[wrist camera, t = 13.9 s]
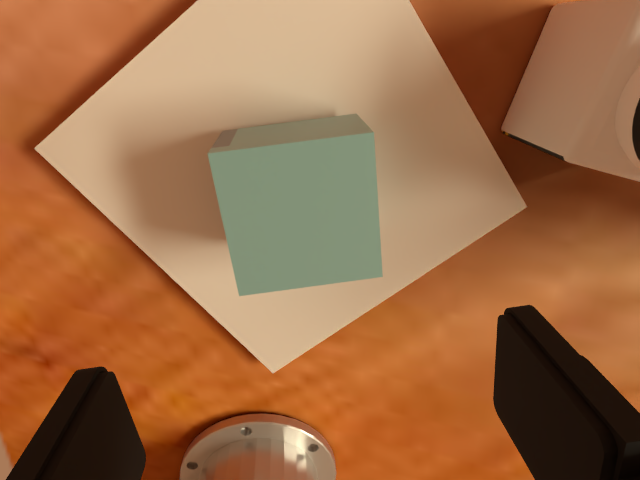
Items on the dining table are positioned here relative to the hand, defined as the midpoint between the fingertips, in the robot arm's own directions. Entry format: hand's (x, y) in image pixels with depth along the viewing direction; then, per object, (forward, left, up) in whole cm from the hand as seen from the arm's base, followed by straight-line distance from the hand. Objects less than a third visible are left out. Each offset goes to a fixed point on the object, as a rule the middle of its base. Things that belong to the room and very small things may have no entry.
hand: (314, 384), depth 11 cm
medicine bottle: (+16, -6, -18) cm, 25 cm away
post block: (0, 0, -18) cm, 18 cm away
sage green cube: (0, 0, -15) cm, 15 cm away
